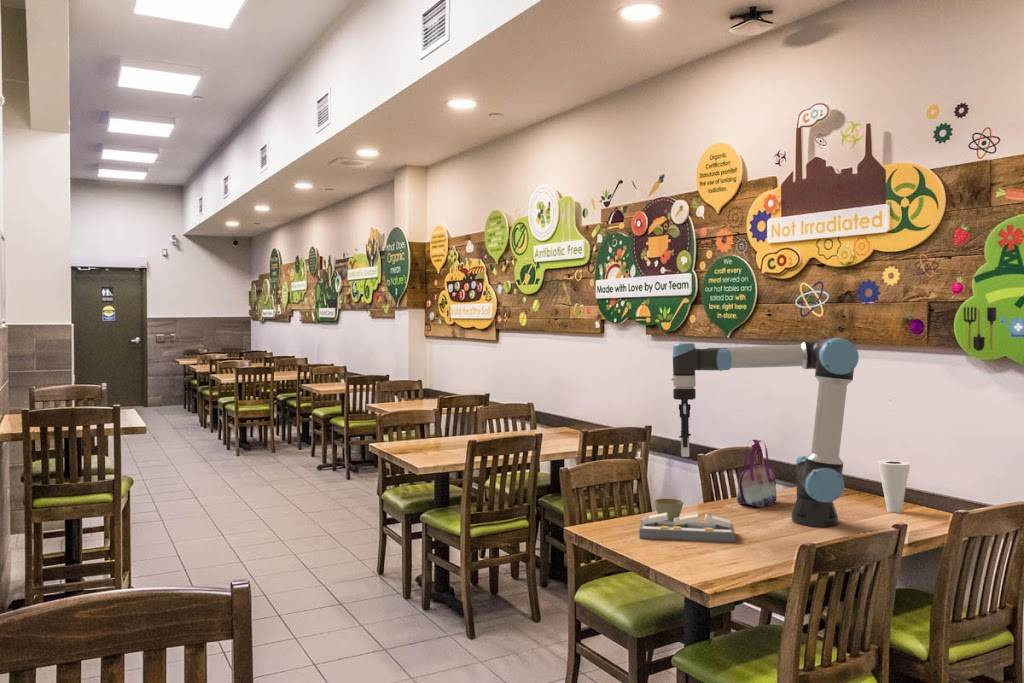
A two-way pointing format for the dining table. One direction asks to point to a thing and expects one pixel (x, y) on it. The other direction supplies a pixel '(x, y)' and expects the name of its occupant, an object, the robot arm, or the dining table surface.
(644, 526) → the switch unit
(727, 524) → the rocker
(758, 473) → the handbag
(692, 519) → the rocker
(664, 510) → the flower pot
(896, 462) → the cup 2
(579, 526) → the dining table surface
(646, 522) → the rocker
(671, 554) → the dining table surface
